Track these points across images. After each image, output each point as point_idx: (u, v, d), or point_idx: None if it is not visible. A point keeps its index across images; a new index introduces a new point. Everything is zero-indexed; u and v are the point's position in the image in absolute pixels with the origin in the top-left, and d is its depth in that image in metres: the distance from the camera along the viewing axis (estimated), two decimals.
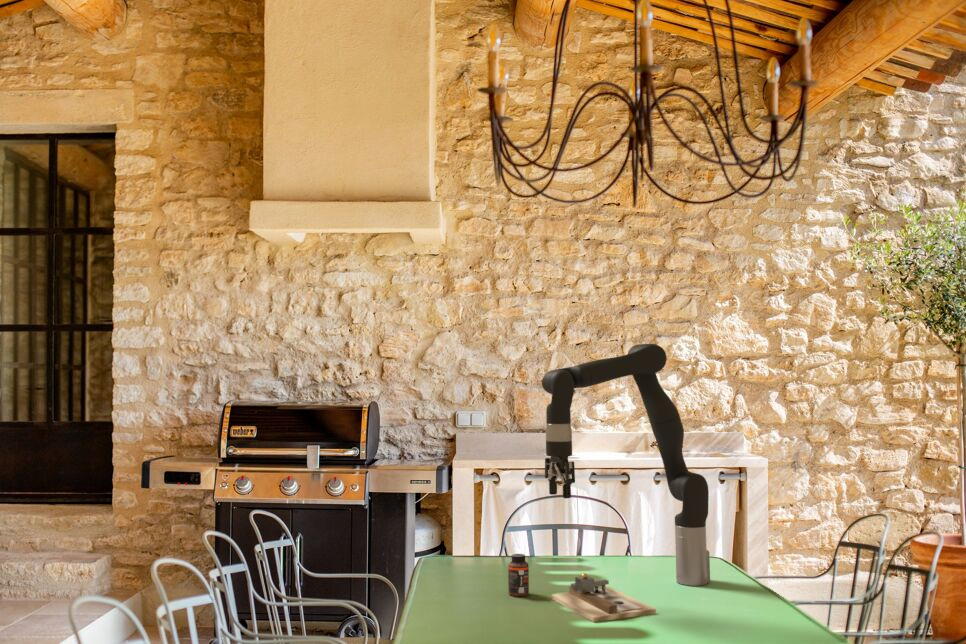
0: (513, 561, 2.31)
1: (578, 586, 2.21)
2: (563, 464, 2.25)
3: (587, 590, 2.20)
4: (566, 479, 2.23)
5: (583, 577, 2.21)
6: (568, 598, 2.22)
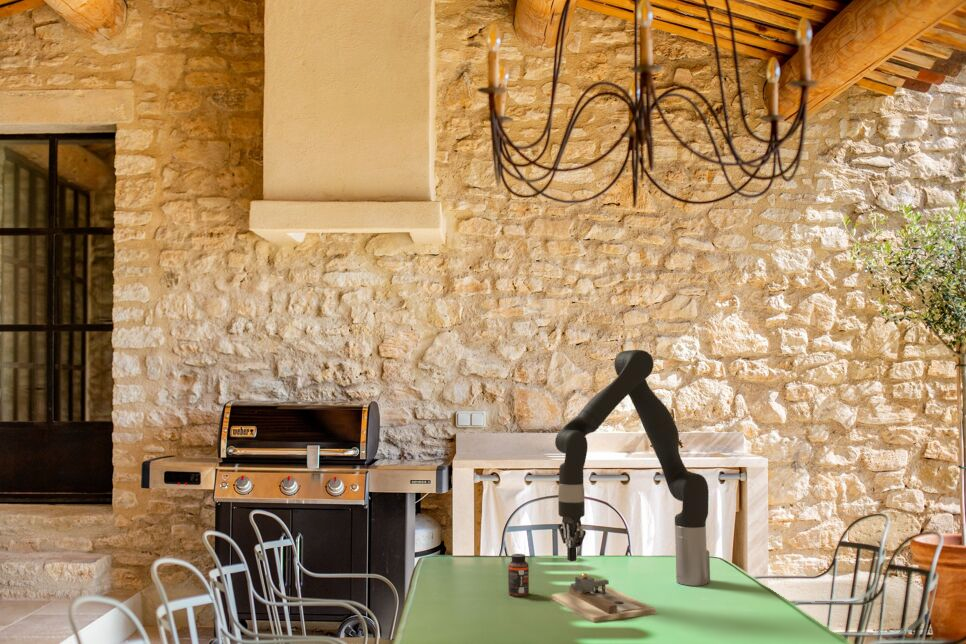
0: (513, 561, 2.31)
1: (578, 586, 2.21)
2: (575, 527, 2.26)
3: (587, 590, 2.20)
4: (572, 543, 2.26)
5: (583, 577, 2.21)
6: (568, 598, 2.22)
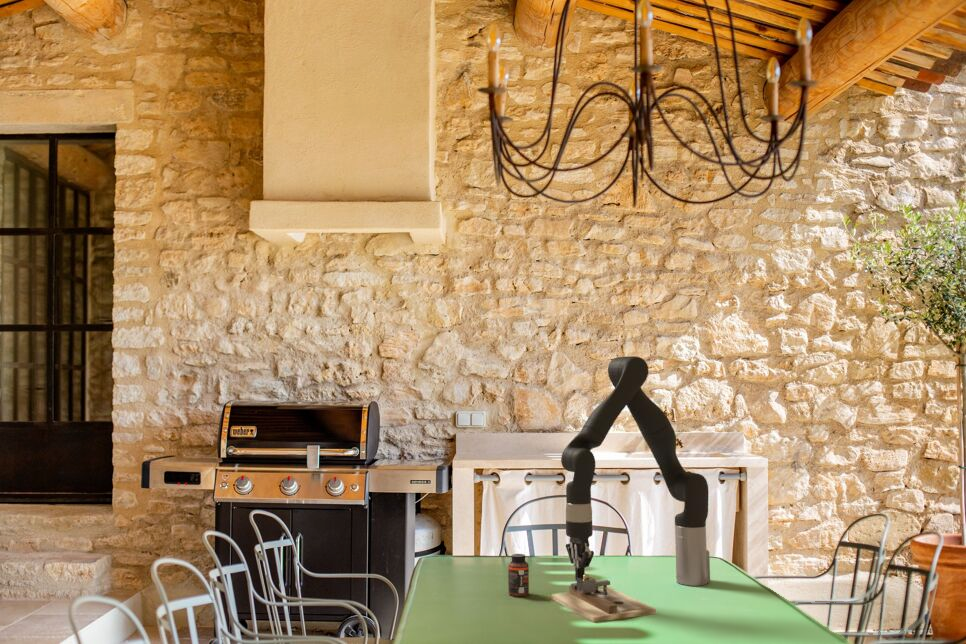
0: (513, 561, 2.31)
1: (579, 587, 2.20)
2: (583, 548, 2.21)
3: (589, 591, 2.19)
4: (580, 563, 2.22)
5: (584, 578, 2.21)
6: (568, 598, 2.22)
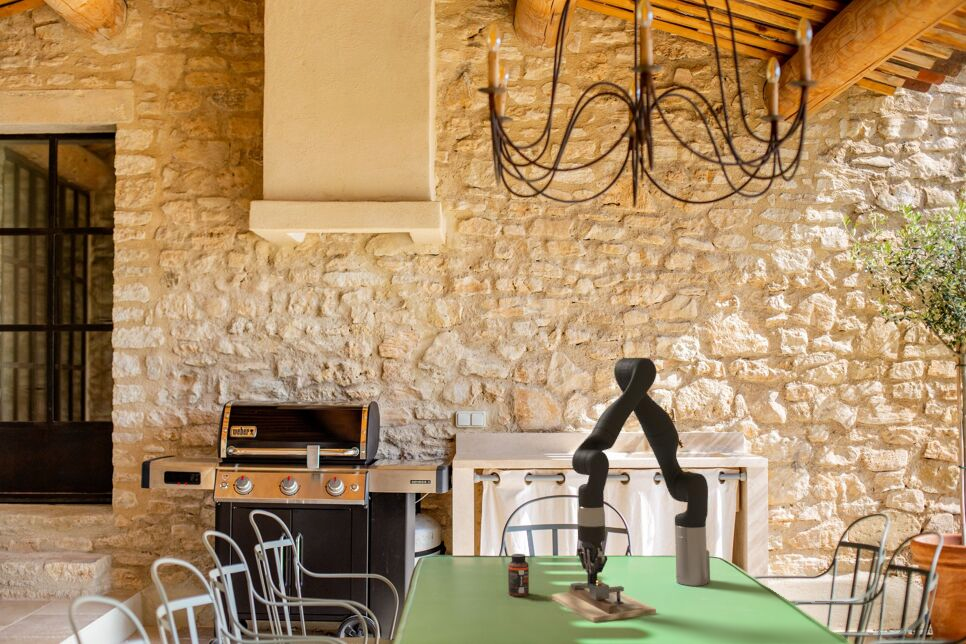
0: (513, 561, 2.31)
1: (592, 593, 2.14)
2: (596, 553, 2.15)
3: (602, 597, 2.13)
4: (593, 569, 2.15)
5: (597, 584, 2.14)
6: (568, 598, 2.22)
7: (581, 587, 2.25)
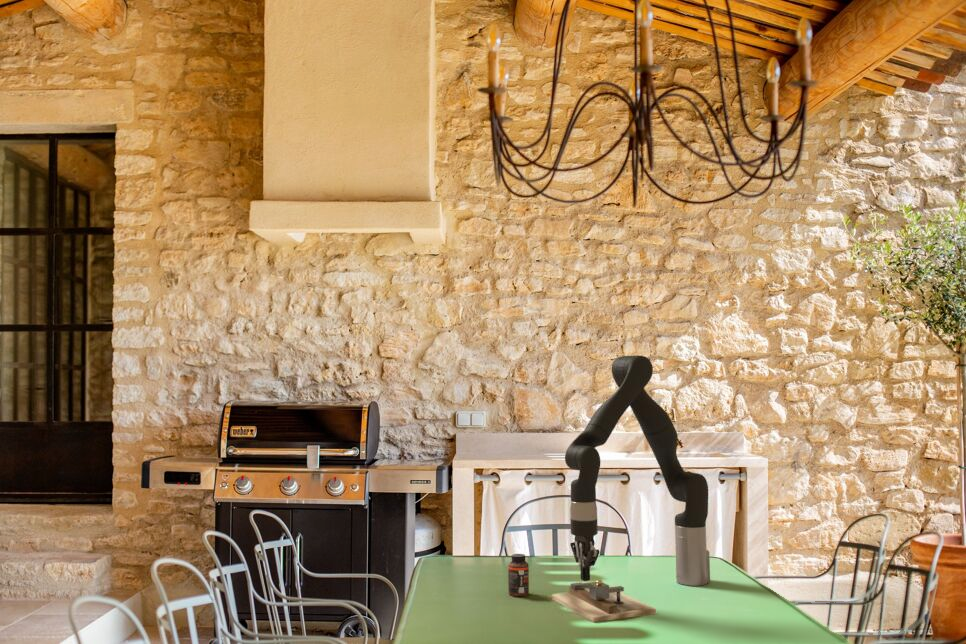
0: (513, 561, 2.31)
1: (592, 593, 2.14)
2: (588, 546, 2.19)
3: (602, 597, 2.13)
4: (585, 562, 2.19)
5: (597, 584, 2.14)
6: (568, 598, 2.22)
7: (581, 587, 2.25)
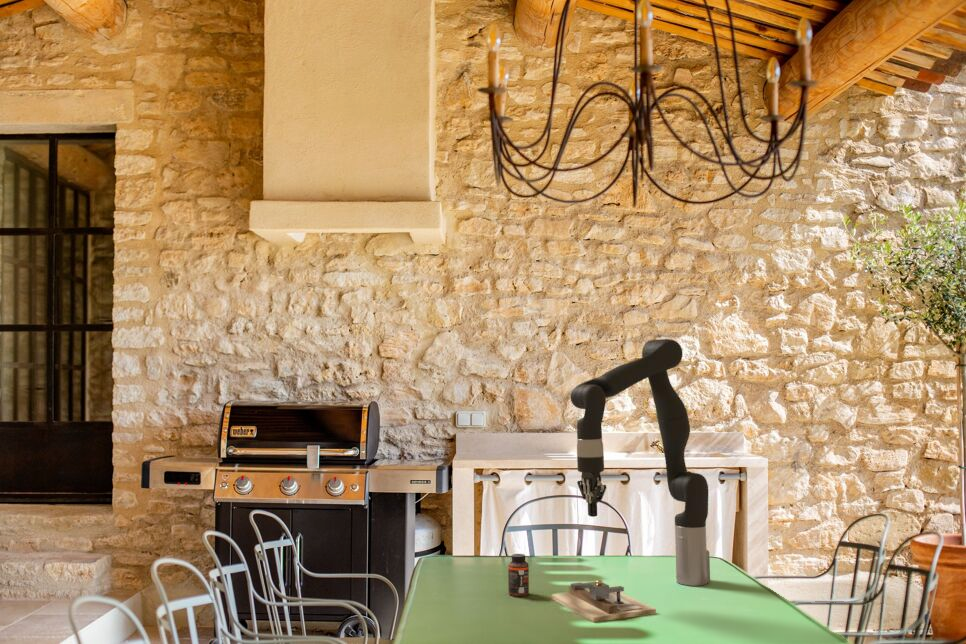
0: (513, 561, 2.31)
1: (592, 593, 2.14)
2: (595, 482, 2.23)
3: (602, 597, 2.13)
4: (592, 498, 2.24)
5: (597, 584, 2.14)
6: (568, 598, 2.22)
7: (581, 587, 2.25)
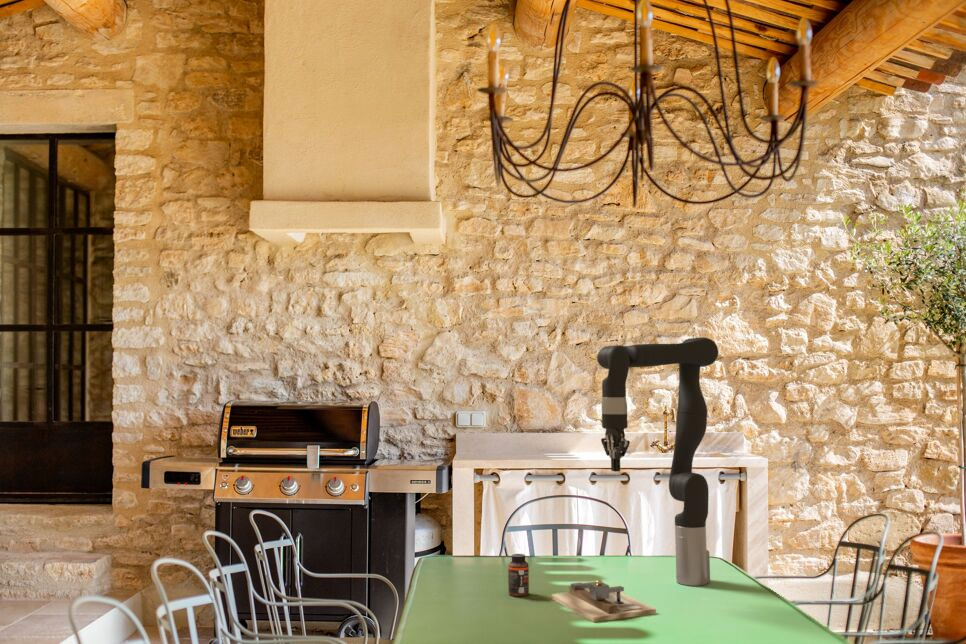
0: (513, 561, 2.31)
1: (592, 593, 2.14)
2: (619, 438, 2.33)
3: (602, 597, 2.13)
4: (616, 453, 2.34)
5: (597, 584, 2.14)
6: (568, 598, 2.22)
7: (581, 587, 2.25)
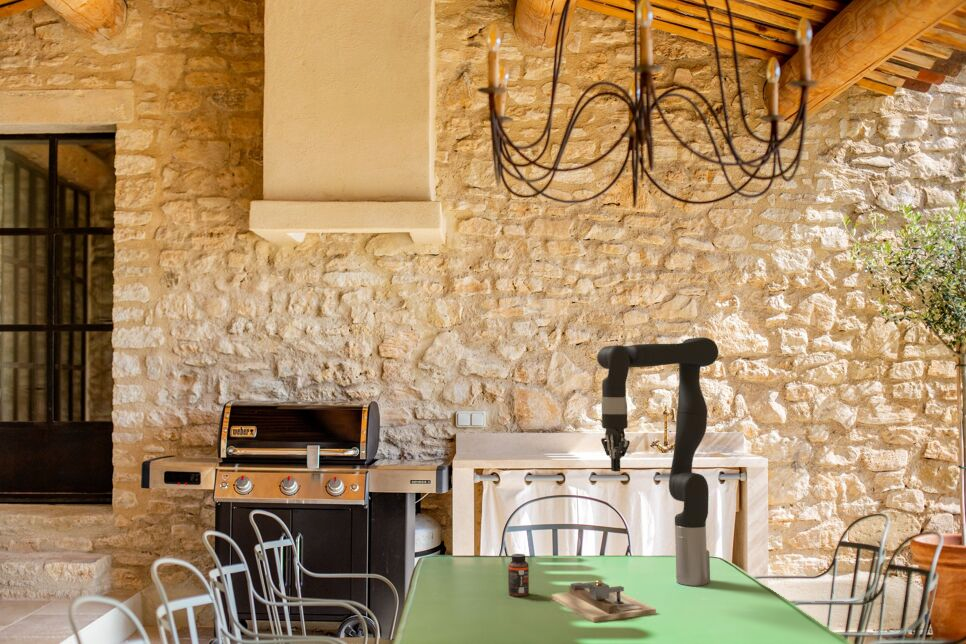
0: (513, 561, 2.31)
1: (592, 593, 2.14)
2: (619, 438, 2.33)
3: (602, 597, 2.13)
4: (616, 453, 2.34)
5: (597, 584, 2.14)
6: (568, 598, 2.22)
7: (581, 587, 2.25)
